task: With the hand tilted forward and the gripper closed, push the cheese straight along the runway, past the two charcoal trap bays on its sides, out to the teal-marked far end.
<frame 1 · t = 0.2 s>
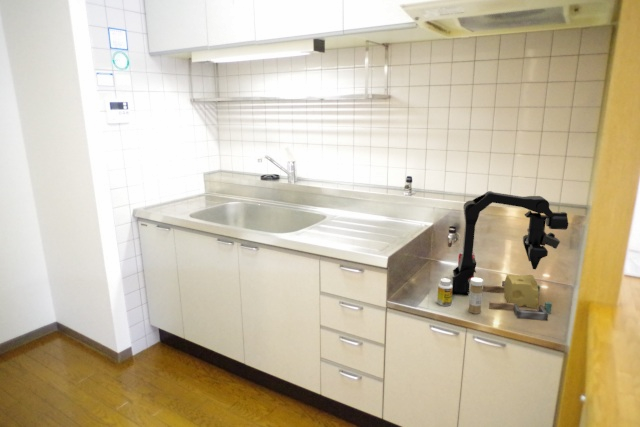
hand: (532, 265, 171), 14 cm above the countertop, tool pointing down, fingers open, 9 cm apart
sprinkles bottle: (474, 311, 164), on the countertop
supplement bottle: (444, 303, 171), on the countertop
cheese: (519, 302, 171), on the countertop
soda can: (465, 279, 194), on the countertop
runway: (514, 301, 172), on the countertop
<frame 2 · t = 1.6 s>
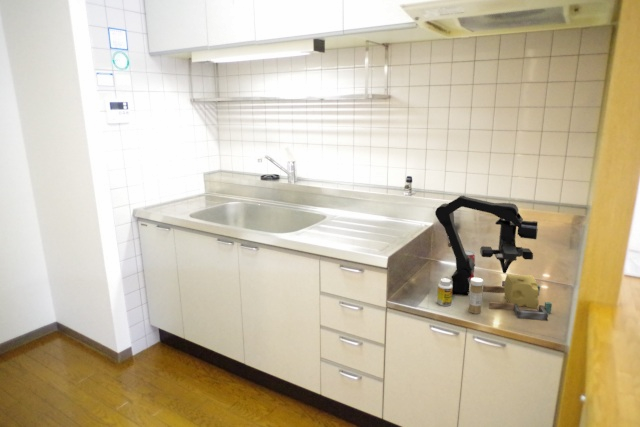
hand: (504, 272, 170), 12 cm above the countertop, tool pointing down, fingers closed
nothing on the countertop moved.
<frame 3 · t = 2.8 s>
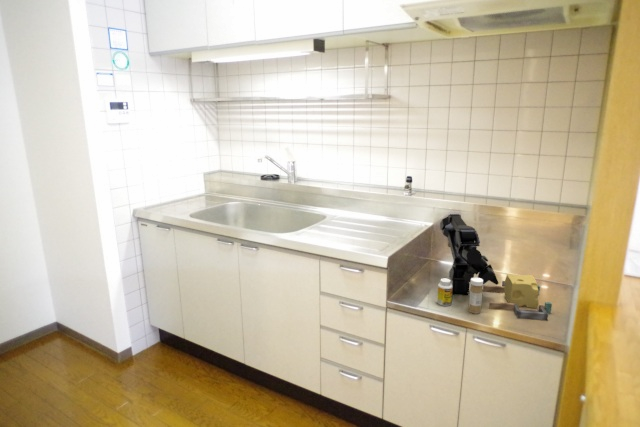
hand: (497, 283, 172), 7 cm above the countertop, tool tilted 45°, fingers closed
nothing on the countertop moved.
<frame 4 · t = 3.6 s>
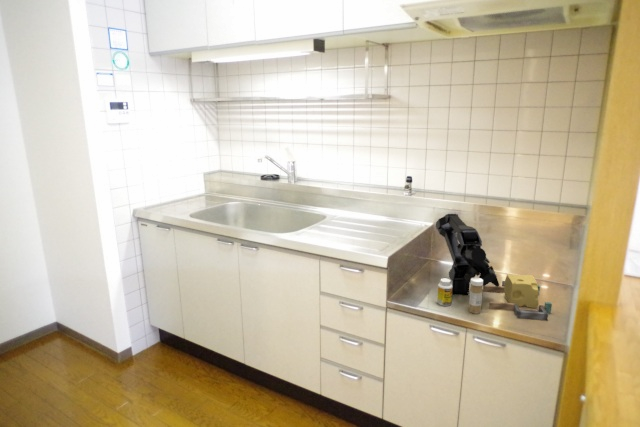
hand: (498, 285, 171), 7 cm above the countertop, tool tilted 45°, fingers closed
nothing on the countertop moved.
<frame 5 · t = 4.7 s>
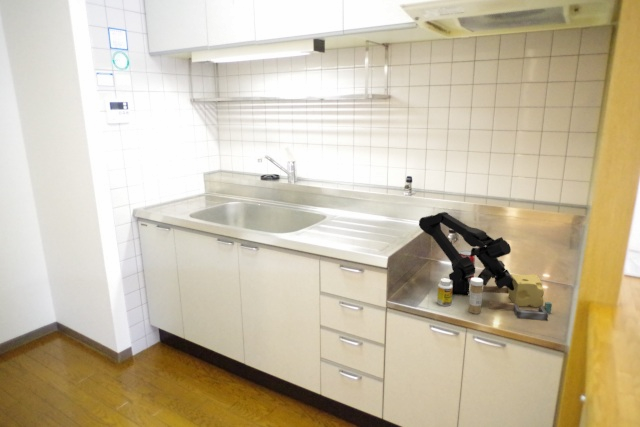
hand: (513, 289, 169), 6 cm above the countertop, tool tilted 40°, fingers closed
cheese: (524, 302, 171), on the countertop, touching gripper
everything else where it was.
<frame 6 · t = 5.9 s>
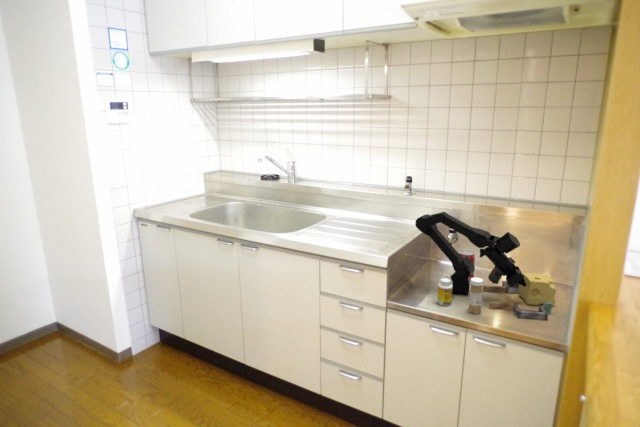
hand: (525, 285, 169), 7 cm above the countertop, tool tilted 45°, fingers closed
cheese: (535, 300, 172), on the countertop, touching gripper
everything else where it was.
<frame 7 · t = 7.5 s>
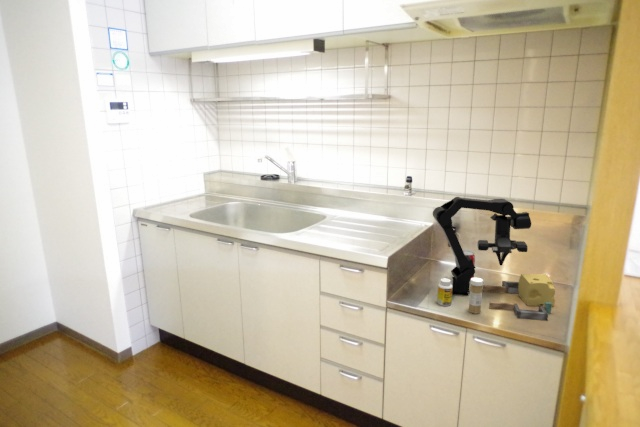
hand: (500, 265, 178), 12 cm above the countertop, tool pointing down, fingers closed
cheese: (534, 301, 172), on the countertop
everything else where it was.
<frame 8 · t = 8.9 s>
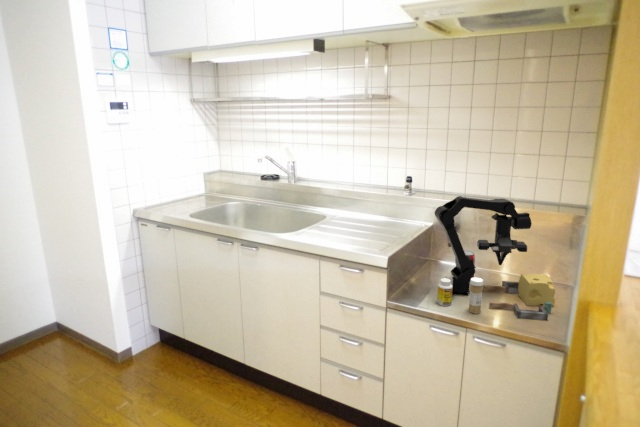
hand: (499, 264, 178), 12 cm above the countertop, tool pointing down, fingers closed
nothing on the countertop moved.
at the end: cheese inside the target area (5.0 cm from its centre), on the countertop; cheese tilted 0°; cheese moved 6.4 cm from its start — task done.
